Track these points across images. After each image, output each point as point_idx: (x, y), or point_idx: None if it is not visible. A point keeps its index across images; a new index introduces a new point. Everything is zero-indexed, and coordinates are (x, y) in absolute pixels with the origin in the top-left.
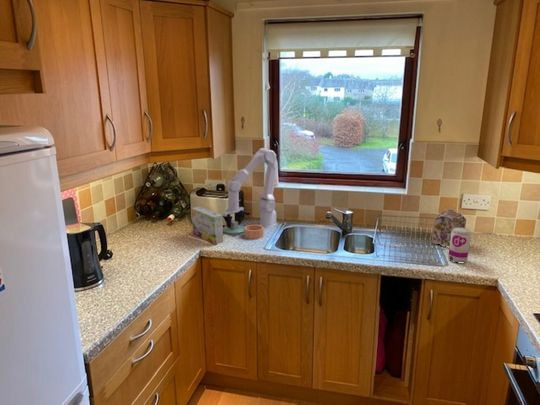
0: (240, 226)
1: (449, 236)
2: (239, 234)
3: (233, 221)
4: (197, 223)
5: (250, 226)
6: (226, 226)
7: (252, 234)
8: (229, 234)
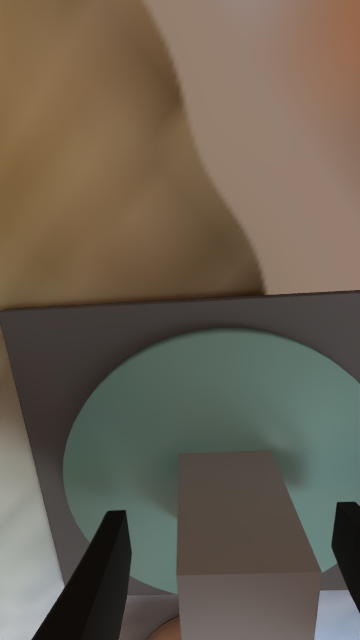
0: (357, 489)
1: None
2: (155, 592)
3: (259, 611)
4: None
5: None
6: (231, 353)
7: None
8: (76, 531)
